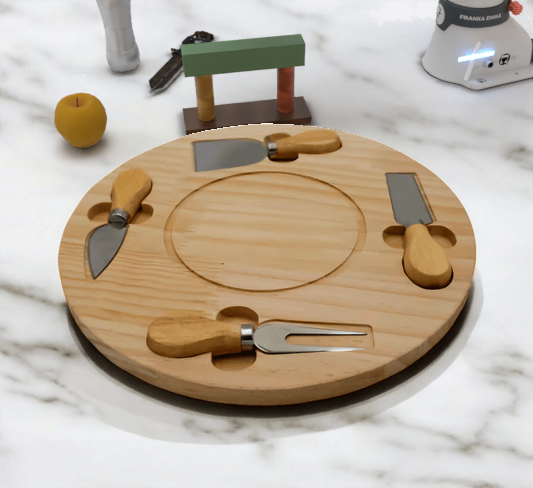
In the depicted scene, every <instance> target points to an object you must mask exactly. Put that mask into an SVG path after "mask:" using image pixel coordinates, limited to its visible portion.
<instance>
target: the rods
mask: <svg viewBox="0 0 533 488" xmlns="http://www.w3.org/2000/svg"><path fill="white" fill-rule="evenodd" d="M295 68H296V67H287V68H276V98H271V99H261V100H252V101H241V102H233V103H232V102H231V103H224V104H223V103H222V104H215V93H214V80H213V78H214V77H213V75H204V76H194V89H195V97H196V106H195V107H183V108H182V115H183V123H184V129H185V136H186V135H189V134H192V133H197V132H201V131H205V130H211V129H217V128H223V127H230V126H238V125H248V124H261V123H273V124H294V125H298V126H307V125H312V119H313V118H312V115H311V112H310V109H309V107H308V104H307V102H306V99H305V97H304V96H303V95H301V96H300V95H299V96H295V77H296V75H295V74H296V73H295V71H296V69H295Z"/></svg>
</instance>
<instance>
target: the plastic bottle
mask: <svg viewBox="0 0 533 488" xmlns="http://www.w3.org/2000/svg"><path fill="white" fill-rule="evenodd" d="M131 1H132V0H95V2H96V5H97V7H98V11H99V14H100V17H101V21H102V25H103V29H104V37H105V59H106V61H107V64H108V66H109V68H111V69H112V70H113V71H115V72H121V73H125V72H130V71H133V70H134V69H136V68H137V67H138V66H139V63H140V61H141V53H140V50H139V49H140V48H139V45H138V43H137V41H136V36H135V32H134V29H133V21H132V20H133V19H132V2H131Z"/></svg>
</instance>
